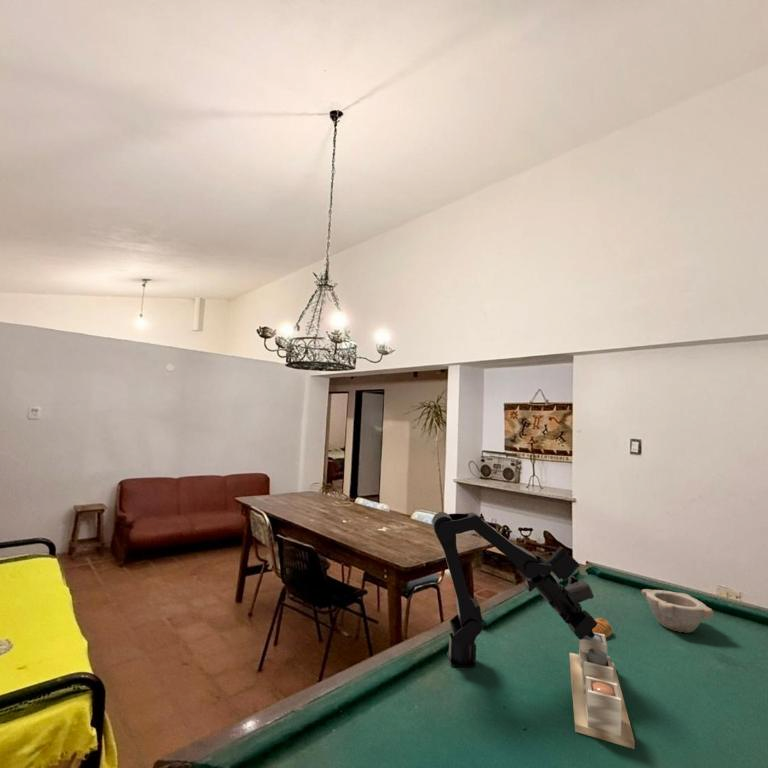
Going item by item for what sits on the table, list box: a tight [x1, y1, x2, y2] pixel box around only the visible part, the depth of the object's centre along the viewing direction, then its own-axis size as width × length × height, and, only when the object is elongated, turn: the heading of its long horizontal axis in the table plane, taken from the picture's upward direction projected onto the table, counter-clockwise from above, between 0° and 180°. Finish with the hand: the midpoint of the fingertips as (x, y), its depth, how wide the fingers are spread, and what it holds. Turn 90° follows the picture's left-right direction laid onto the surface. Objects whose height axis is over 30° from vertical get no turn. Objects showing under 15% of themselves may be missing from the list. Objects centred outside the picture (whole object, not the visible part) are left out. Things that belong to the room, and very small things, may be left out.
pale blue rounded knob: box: [585, 635, 601, 642], centre depth 114 cm, size 4×4×4 cm
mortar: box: [641, 588, 714, 634], centre depth 142 cm, size 17×17×9 cm
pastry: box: [592, 617, 614, 639], centre depth 134 cm, size 9×7×4 cm
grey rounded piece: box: [588, 649, 608, 666], centre depth 103 cm, size 4×4×4 cm
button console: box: [569, 632, 636, 750], centre depth 103 cm, size 11×31×8 cm, turn 158°
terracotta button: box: [593, 682, 613, 696], centre depth 92 cm, size 4×4×4 cm
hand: (593, 636), depth 114 cm, fingers closed, pressing on pale blue rounded knob
